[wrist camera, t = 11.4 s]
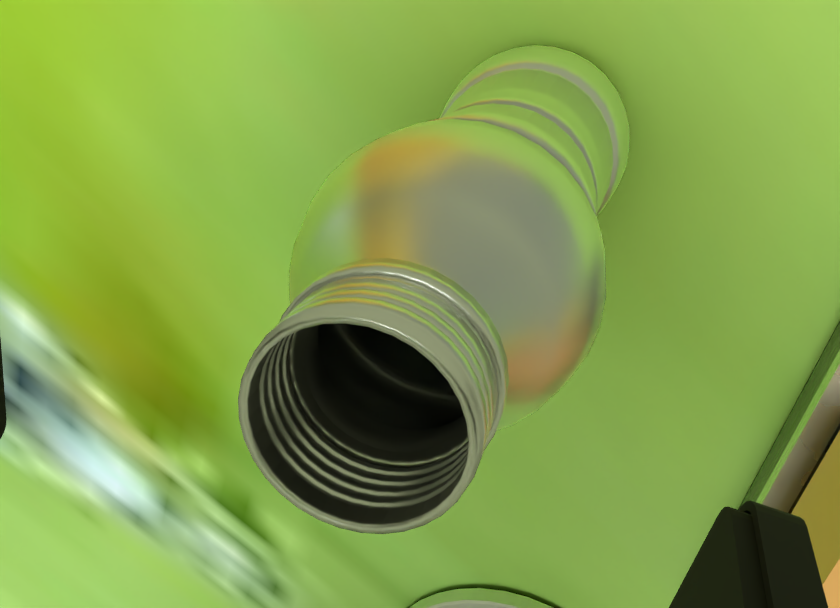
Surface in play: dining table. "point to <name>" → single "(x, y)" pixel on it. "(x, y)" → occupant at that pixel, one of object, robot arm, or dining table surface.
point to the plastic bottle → (439, 293)
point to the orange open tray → (825, 520)
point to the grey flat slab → (802, 436)
